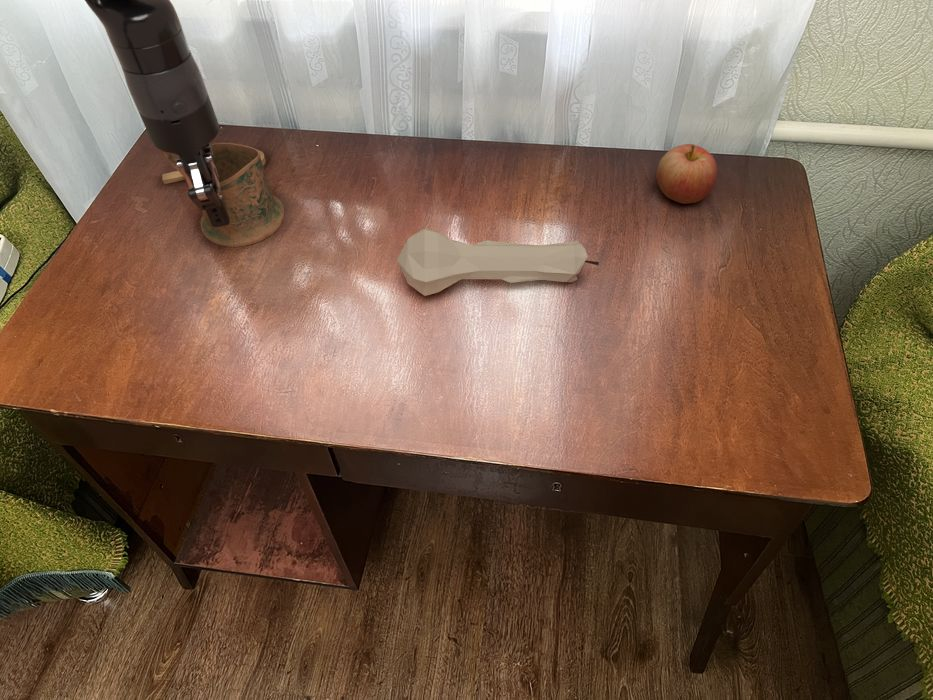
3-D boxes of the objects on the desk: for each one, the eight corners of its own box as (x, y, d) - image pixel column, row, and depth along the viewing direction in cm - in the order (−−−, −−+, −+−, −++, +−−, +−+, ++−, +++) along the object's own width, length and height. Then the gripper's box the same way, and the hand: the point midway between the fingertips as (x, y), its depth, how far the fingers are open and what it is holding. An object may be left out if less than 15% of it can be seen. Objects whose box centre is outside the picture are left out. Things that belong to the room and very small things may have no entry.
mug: (210, 172, 105) (182, 100, 96) (301, 207, 99) (281, 134, 90) (153, 217, 99) (117, 144, 89) (246, 257, 93) (218, 183, 83)
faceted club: (399, 252, 91) (589, 249, 92) (399, 310, 88) (595, 307, 88) (395, 213, 83) (602, 211, 84) (394, 276, 80) (610, 273, 80)
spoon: (164, 190, 102) (162, 184, 102) (163, 172, 105) (161, 167, 104) (267, 168, 105) (265, 162, 104) (263, 152, 108) (262, 146, 107)
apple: (655, 173, 101) (666, 125, 95) (712, 182, 100) (726, 133, 93) (648, 208, 96) (658, 159, 90) (707, 217, 95) (722, 169, 89)
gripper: (136, 75, 79) (189, 198, 92) (135, 137, 70) (194, 263, 84) (203, 62, 80) (246, 186, 93) (210, 122, 72) (256, 249, 85)
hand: (221, 222), depth 88 cm, fingers closed
